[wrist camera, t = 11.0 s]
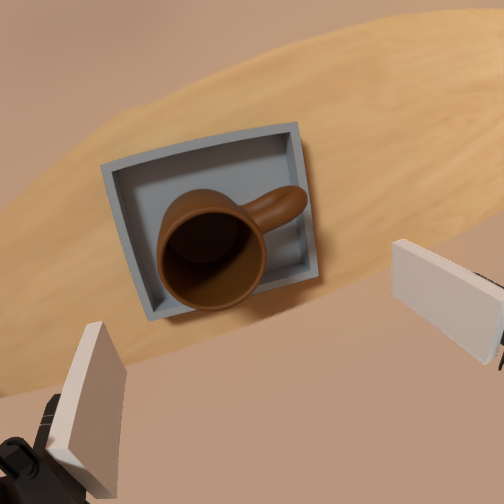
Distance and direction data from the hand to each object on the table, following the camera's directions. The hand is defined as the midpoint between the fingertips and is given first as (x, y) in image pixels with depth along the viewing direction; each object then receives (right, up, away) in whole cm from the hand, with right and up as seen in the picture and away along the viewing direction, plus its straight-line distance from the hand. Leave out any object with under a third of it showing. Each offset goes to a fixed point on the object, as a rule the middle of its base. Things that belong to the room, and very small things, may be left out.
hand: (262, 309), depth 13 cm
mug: (-3, +6, +17) cm, 18 cm away
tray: (-4, +6, +17) cm, 18 cm away
